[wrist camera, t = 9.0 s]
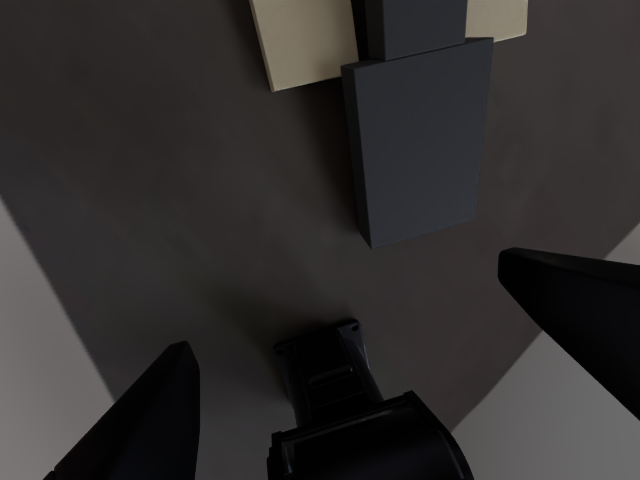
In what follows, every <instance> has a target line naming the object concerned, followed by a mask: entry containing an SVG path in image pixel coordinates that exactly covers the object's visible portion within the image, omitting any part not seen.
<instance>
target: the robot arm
mask: <svg viewBox="0 0 640 480" xmlns="http://www.w3.org/2000/svg"><path fill="white" fill-rule="evenodd" d="M498 279H499V281H500V283H501V284H502V285H503V287H504V288H505V289H506V290H507V291H508V292H509V293H510V295H511V296H512V297H513V298H514V299H515V300H516V301H517V302H518V304H519V305H520V306H521V307H522V308H523V309H524V310H525V312H526V313H527V314H528V315H529V316H530V317H531V318H532V319H533V320H534V321H535V323H536V324H537V325H539V326H540V327H541V328H542V329H543V330H544V331H545V332H546V333H547V334H548V335H549V336H550V337H551V338H552V339H553V340H554V341H555V342H556V343H558V344H559V345H560V346H561V347H562V348H563V349H564V350H565V351H566V352H567V353H568V354H569V355H570V356H571V357H572V358H574V360H576V361H577V362H578V363H579V364H580V365H581V366H582V367H583V368H584V369H585V370H586V371H587V372H588V373H589V374H590V375H592V376H593V377H594V378H595V379H596V380H597V381H598V382H599V383H600V384H601V385H602V386H603V387H604V388H605V389H606V390H607V391H609V392H610V393H611V394H612V395H613V396H614V397H615V398H616V399H617V400H618V401H619V402H620V403H621V404H622V405H623V406H624V407H625V408H627V409H628V410H629V411H630V412H631V413H632V414H633V415H634V416H635V417H636V418H637V419H638V420H640V265H634V264H627V263H621V262H614V261H606V260H600V259H593V258H586V257H579V256H572V255H565V254H558V253H551V252H544V251H537V250H530V249H523V248H516V247H514V248H509V249H506V250H503V251H501V252H500V254H499V259H498ZM354 325H356V326H355V327H354V328H352V326H354ZM280 349H283V350H282V351H278V350H280ZM273 350H274V356H275V359H276V361H277V364H278V367H279V370H280V373H281V376H282V379H283V381H284V384H285V387H286V390H287V393H288V396H289V399H290V402H291V404H292V407H293V409H294V412H295V418H296V424H297V428H295V429H291V430H288V431H285V432H282V433H281V431H279V432H276V433H272V447H270V448H269V457H268V458H267V472H268V480H474V477H473V475H472V472H471V470H470V467H469V465H468V463H467V461H466V459H465V456H464V455H463V453H462V451H461V449H460V447H459V445H458V444H457V442H456V441H455V439H454V437H453V436H452V435H451V433H450V432H449V431H448V430H447V429H446V427H445V426H444V425H443V424H442V423H441V422H440V421H439V420H438V418H437V417H436V416H435V415H434V414H433V413H432V412H431V411H430V409H429V408H428V407H427V406H426V405H425V404H424V403H423V402H422V400H421V399H420V398H419V397H418V396H417V395H416V394H415V393H414V392H413V391H412V390H411V391H408V392H405V393H404V395H401V396H398V397H394V398H391V399H388V400H385V401H384V399H383V397H382V395H381V393H380V391H379V389H378V387H377V385H376V383H375V381H374V379H373V377H372V375H371V372H370V369H369V364H368V359H367V354H366V348H365V343H364V338H363V333H362V328H361V325H360V323H359V321H358V320H356V319H352V320H349V321H346V322H342V323H339V324H336V325H333V326H330V327H327V328H324V329H321V330H317V331H314V332H311V333H308V334H305V335H302V336H299V337H295V338H292V339H289V340H286V341H283V342H280V343H277V344H276V345H275V346H274V348H273ZM199 434H200V370H199V365H198V362H197V360H196V358H195V356H194V353H193V351H192V349H191V346H190V344H189V343H188V342H187V341H181V342H178V343H174V344H171V345H169V346H168V347H167V348H166V349H165V350H164V352H163V353H162V354H161V355H160V356H159V357H158V358H157V359H156V360H155V361H154V362H153V363H152V364H151V365H150V366H149V367H148V368H147V370H146V371H145V372H144V373H143V374H142V375H141V376H140V377H139V378H138V379H137V380H136V381H135V382H134V383H133V384H132V385H131V387H130V388H129V389H128V390H127V391H126V392H125V393H124V394H123V395H122V396H121V397H120V398H119V399H118V400H117V401H116V402H115V404H114V405H113V406H112V407H111V408H110V409H109V410H108V411H107V412H106V413H105V414H104V415H103V416H102V417H101V418H100V420H98V422H97V423H96V424H95V425H94V426H93V427H92V428H91V429H90V430H89V431H88V432H87V433H86V434H85V435H84V436H83V437H82V439H81V440H80V441H79V442H78V443H77V444H76V445H75V446H74V447H73V448H72V449H71V450H70V451H69V452H68V453H67V454H66V456H65V457H64V458H63V459H62V460H61V461H60V462H59V463H58V464H57V465H56V466H55V468H54V471H51V472H49V473H48V474H47V476H46V477H45V478H44V479H43V480H195V471H196V462H197V453H198V444H199Z"/></svg>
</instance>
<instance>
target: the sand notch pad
mask: <svg viewBox="0 0 640 480" xmlns="http://www.w3.org/2000/svg"><path fill="white" fill-rule="evenodd" d="M249 3H250V7H251V11H252V15H253V19H254V23H255V27H256V31H257V35H258V39H259V43H260V48H261V52H262V56H263V60H264V64H265V68H266V72H267V76H268V80H269V84H270V88H271V91H272V92H274V91H279V90H283V89H288V88H292V87H296V86H301V85H305V84H310V83H314V82H319V81H323V80H328V79H332V78H336V77H341V68H340V66H341V65H345V64H349V63H354V62H358V61H359V58H358V50H357V43H356V36H355V28H354V21H353V14H352V6H351V0H249ZM527 7H528V0H468V4H467V19H466V34H465V38H466V37H494V42H496V41H501V40H505V39H509V38H513V37H518V36H522V35H525V34H526V27H527Z"/></svg>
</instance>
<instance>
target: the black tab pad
mask: <svg viewBox="0 0 640 480" xmlns="http://www.w3.org/2000/svg"><path fill="white" fill-rule="evenodd" d="M467 4H468V0H365V11H366V24H367V38H368V51H369V58H370V59H367V60H363V61H358V62H354V63H349V64H345V65H341V66H340V68H341V76H342V85H343V93H344V102H345V110H346V118H347V127H348V135H349V144H350V152H351V160H352V169H353V177H354V186H355V194H356V202H357V211H358V219H359V228H360V234H361V235H362V237H363V238H364V240H365V241H366V242H367V244H368V245H369V247H370V248H371V249H375V248H379V247H382V246H385V245H389V244H392V243H396V242H399V241H402V240H406V239H409V238H412V237H416V236H419V235H423V234H426V233H429V232H433V231H436V230H439V229H443V228H446V227H450V226H453V225H456V224H460V223H463V222H466V221H470V220H473V219H474V218H475V209H476V199H477V190H478V181H479V172H480V162H481V153H482V144H483V135H484V126H485V116H486V107H487V98H488V89H489V80H490V70H491V61H492V52H493V43H494V37H466V38H465V34H466V19H467Z"/></svg>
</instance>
